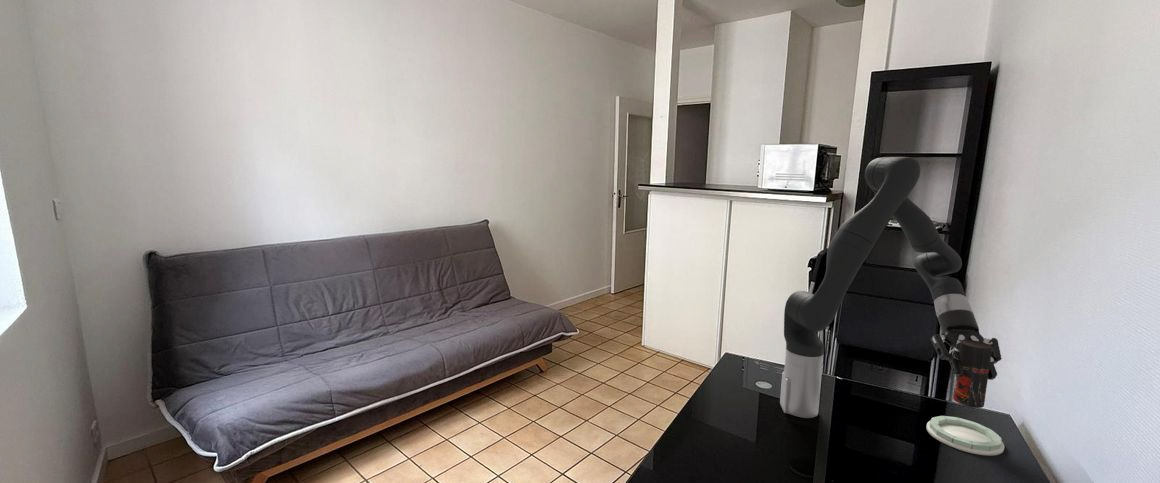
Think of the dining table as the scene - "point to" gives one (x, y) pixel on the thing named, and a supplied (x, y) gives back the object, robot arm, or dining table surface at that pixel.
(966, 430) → the round plate
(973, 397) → the deodorant
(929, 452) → the dining table surface
